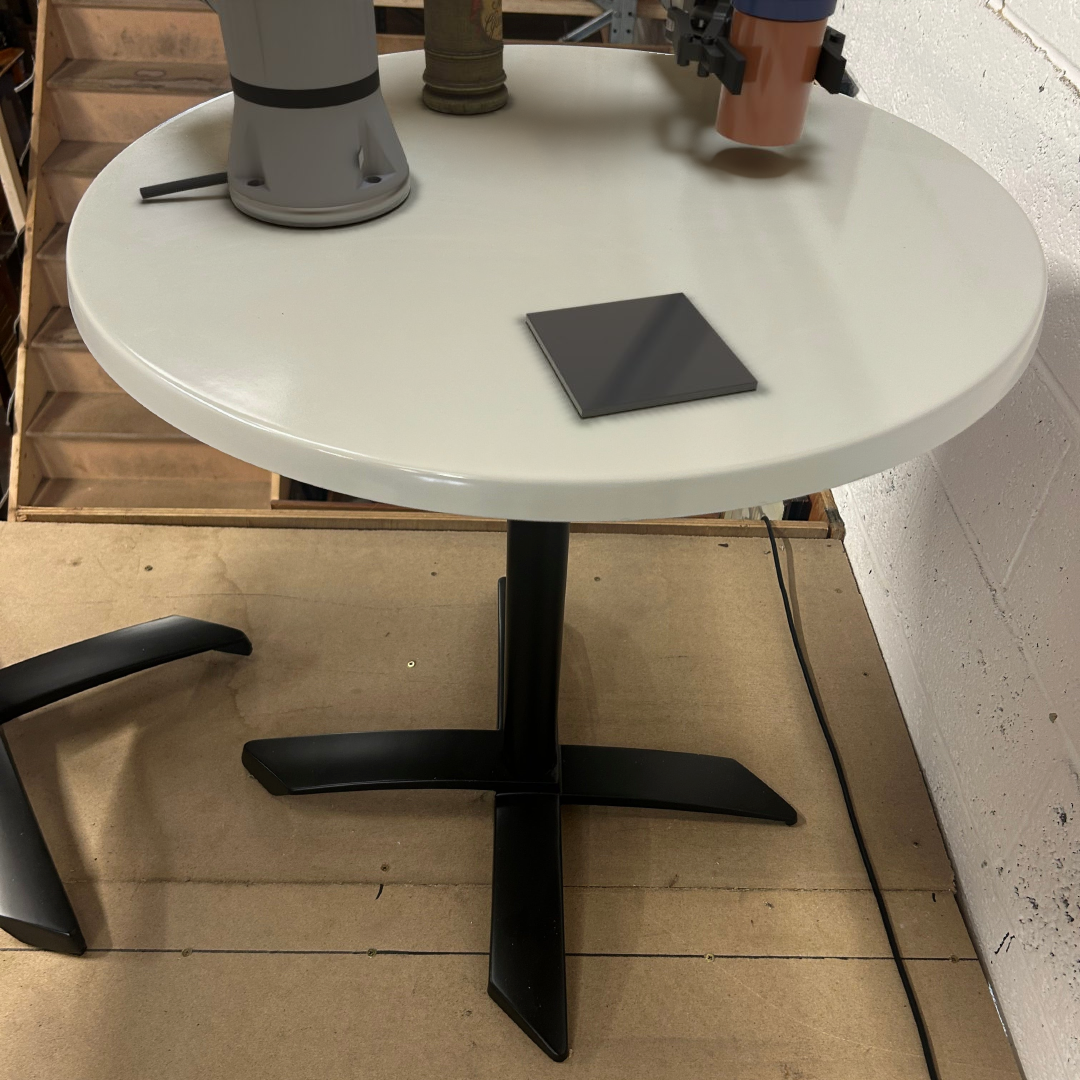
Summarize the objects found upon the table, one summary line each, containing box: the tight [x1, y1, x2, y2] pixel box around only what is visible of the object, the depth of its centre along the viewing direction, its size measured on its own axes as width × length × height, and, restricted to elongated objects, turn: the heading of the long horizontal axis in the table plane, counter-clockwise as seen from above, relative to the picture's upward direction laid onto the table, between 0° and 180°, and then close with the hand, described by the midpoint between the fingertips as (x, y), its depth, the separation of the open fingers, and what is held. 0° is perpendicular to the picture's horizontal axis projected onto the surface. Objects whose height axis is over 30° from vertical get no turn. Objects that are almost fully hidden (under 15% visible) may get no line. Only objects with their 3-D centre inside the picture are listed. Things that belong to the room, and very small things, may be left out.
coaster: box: [525, 291, 759, 419], centre depth 62 cm, size 12×12×1 cm
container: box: [421, 0, 509, 115], centre depth 90 cm, size 9×9×18 cm
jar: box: [714, 8, 830, 148], centre depth 81 cm, size 8×8×12 cm
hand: (789, 77), depth 77 cm, fingers closed on jar, 8 cm apart
